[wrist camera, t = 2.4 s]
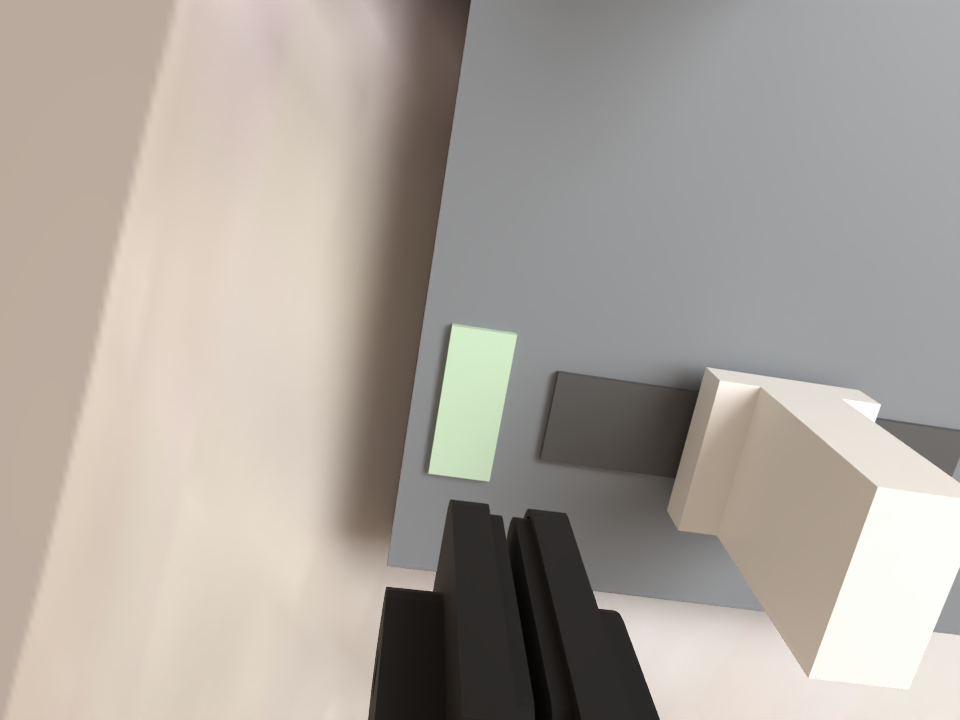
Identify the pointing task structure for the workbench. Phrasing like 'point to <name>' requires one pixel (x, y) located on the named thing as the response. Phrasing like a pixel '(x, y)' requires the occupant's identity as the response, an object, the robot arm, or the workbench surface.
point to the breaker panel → (679, 258)
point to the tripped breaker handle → (822, 521)
